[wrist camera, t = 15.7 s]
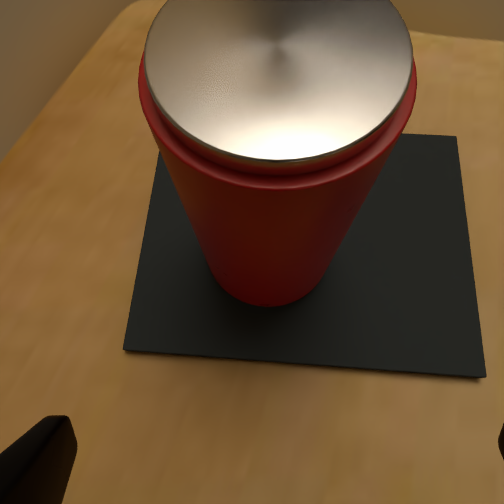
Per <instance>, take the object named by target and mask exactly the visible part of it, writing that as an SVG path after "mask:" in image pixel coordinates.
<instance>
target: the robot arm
mask: <svg viewBox="0 0 504 504" xmlns="http://www.w3.org/2000/svg"><path fill="white" fill-rule="evenodd" d="M498 445H499V449H500V452H501V455H502V457H503V459H504V424H503V426H502V429H501V432H500V435H499V438H498ZM76 454H77V440H76V437H75V434H74V430H73V427H72V424H71V421H70V419H69V417H67V416H65V415H51V416H47V417H45V418H43V419H42V420H41V421H40V422H38V423H37V424H36V425H35V426H33V427H32V428H31V429H30V430H29V431H27V432H26V433H25V434H24V435H23V436H21V437H20V438H19V439H18V440H16V441H15V442H14V443H13V444H12V445H10V446H9V447H8V448H7V449H5V450H4V451H3V452H2V453H1V454H0V504H62V501H63V497H64V494H65V491H66V487H67V484H68V481H69V477H70V474H71V471H72V467H73V464H74V461H75V457H76Z"/></svg>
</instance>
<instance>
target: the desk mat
mask: <svg viewBox="0 0 504 504" xmlns="http://www.w3.org/2000/svg"><path fill="white" fill-rule="evenodd" d="M123 350H126V351H137V352H150V353H163V354H176V355H189V356H202V357H215V358H228V359H241V360H254V361H267V362H280V363H293V364H306V365H319V366H332V367H345V368H358V369H371V370H384V371H397V372H410V373H423V374H436V375H449V376H462V377H475V378H486V369H485V361H484V353H483V345H482V337H481V329H480V321H479V313H478V305H477V297H476V289H475V281H474V273H473V265H472V257H471V249H470V241H469V233H468V226H467V218H466V210H465V202H464V194H463V186H462V178H461V170H460V162H459V154H458V146H457V138H456V136H443V135H422V134H401V135H400V137H399V139H398V141H397V142H396V144H395V146H394V148H393V150H392V152H391V153H390V155H389V157H388V159H387V161H386V162H385V164H384V166H383V168H382V170H381V172H380V173H379V175H378V177H377V179H376V181H375V182H374V184H373V186H372V188H371V190H370V192H369V193H368V195H367V197H366V199H365V201H364V202H363V204H362V206H361V208H360V210H359V211H358V213H357V215H356V217H355V219H354V221H353V222H352V224H351V226H350V228H349V230H348V231H347V233H346V235H345V237H344V239H343V241H342V242H341V244H340V246H339V248H338V250H337V251H336V253H335V255H334V257H333V259H332V261H331V262H330V264H329V266H328V268H327V270H326V271H325V273H324V275H323V277H322V278H321V280H320V281H319V283H318V284H317V285H316V286H315V287H314V288H313V289H312V290H311V291H310V292H309V293H308V294H307V295H305V296H303V297H302V298H300V299H298V300H296V301H294V302H292V303H289V304H285V305H281V306H275V307H263V306H256V305H251V304H248V303H245V302H242V301H240V300H238V299H236V298H235V297H233V296H232V295H230V294H229V293H227V292H226V291H225V290H224V289H223V288H222V287H221V286H220V285H219V283H218V282H217V281H216V279H215V278H214V276H213V274H212V272H211V270H210V268H209V265H208V263H207V261H206V258H205V256H204V254H203V251H202V249H201V247H200V244H199V242H198V240H197V237H196V235H195V233H194V230H193V228H192V225H191V223H190V221H189V218H188V216H187V214H186V211H185V209H184V207H183V204H182V202H181V200H180V197H179V195H178V193H177V190H176V188H175V186H174V183H173V181H172V178H171V176H170V174H169V171H168V169H167V167H166V164H165V162H164V160H163V157H162V155H161V153H160V150H159V156H158V161H157V167H156V172H155V177H154V183H153V188H152V194H151V199H150V204H149V210H148V215H147V221H146V226H145V231H144V237H143V242H142V248H141V253H140V258H139V264H138V269H137V275H136V280H135V285H134V291H133V296H132V302H131V307H130V312H129V318H128V323H127V329H126V334H125V339H124V345H123Z"/></svg>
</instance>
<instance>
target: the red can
mask: <svg viewBox="0 0 504 504" xmlns="http://www.w3.org/2000/svg"><path fill="white" fill-rule="evenodd" d="M138 88H139V98H140V102H141V106H142V110H143V113H144V115H145V117H146V120H147V122H148V124H149V127H150V129H151V131H152V134H153V136H154V139H155V141H156V143H157V146H158V148H159V150H160V153H161V155H162V157H163V160H164V162H165V164H166V167H167V169H168V171H169V174H170V176H171V178H172V181H173V183H174V186H175V188H176V190H177V193H178V195H179V197H180V200H181V202H182V204H183V207H184V209H185V211H186V214H187V216H188V218H189V221H190V223H191V225H192V228H193V230H194V233H195V235H196V237H197V240H198V242H199V244H200V247H201V249H202V251H203V254H204V256H205V258H206V261H207V263H208V265H209V268H210V270H211V272H212V274H213V276H214V278H215V279H216V281H217V282H218V283H219V285H220V286H221V287H222V288H223V289H224V290H225V291H226V292H227V293H229V294H230V295H232V296H233V297H235V298H236V299H238V300H240V301H242V302H245V303H248V304H251V305H256V306H263V307H275V306H281V305H285V304H289V303H292V302H294V301H296V300H298V299H300V298H302V297H303V296H305V295H307V294H308V293H309V292H310V291H311V290H312V289H313V288H314V287H315V286H316V285H317V284H318V283H319V281H320V280H321V278H322V277H323V275H324V273H325V271H326V270H327V268H328V266H329V264H330V262H331V261H332V259H333V257H334V255H335V253H336V251H337V250H338V248H339V246H340V244H341V242H342V241H343V239H344V237H345V235H346V233H347V231H348V230H349V228H350V226H351V224H352V222H353V221H354V219H355V217H356V215H357V213H358V211H359V210H360V208H361V206H362V204H363V202H364V201H365V199H366V197H367V195H368V193H369V192H370V190H371V188H372V186H373V184H374V182H375V181H376V179H377V177H378V175H379V173H380V172H381V170H382V168H383V166H384V164H385V162H386V161H387V159H388V157H389V155H390V153H391V152H392V150H393V148H394V146H395V144H396V142H397V141H398V139H399V137H400V135H401V133H402V132H403V130H404V128H405V126H406V124H407V122H408V120H409V117H410V115H411V113H412V109H413V106H414V102H415V99H416V89H417V76H416V66H415V62H414V58H413V47H412V43H411V39H410V34H409V32H408V29H407V27H406V25H405V22H404V20H403V19H402V17H401V15H400V14H399V12H398V10H397V9H396V8H395V7H394V5H393V4H392V3H391V2H390V0H168V1H167V2H166V3H165V4H164V5H163V7H162V8H161V9H160V11H159V12H158V14H157V16H156V17H155V19H154V20H153V23H152V25H151V27H150V30H149V32H148V35H147V39H146V43H145V48H144V52H143V55H142V59H141V63H140V67H139V77H138Z"/></svg>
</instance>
